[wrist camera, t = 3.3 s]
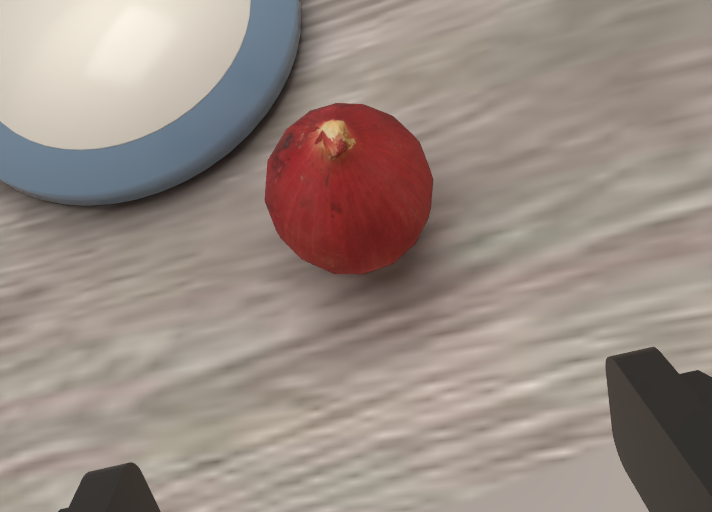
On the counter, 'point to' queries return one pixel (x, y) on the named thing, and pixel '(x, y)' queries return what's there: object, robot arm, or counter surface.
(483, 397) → the counter surface
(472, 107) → the counter surface
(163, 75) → the dish
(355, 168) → the onion
